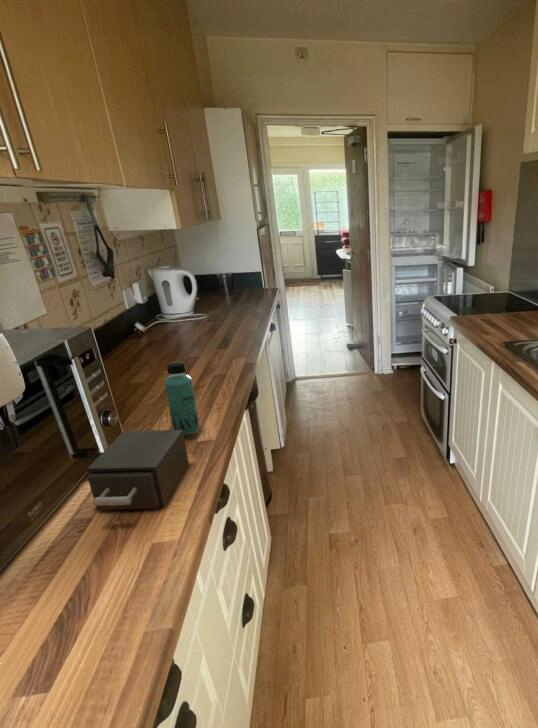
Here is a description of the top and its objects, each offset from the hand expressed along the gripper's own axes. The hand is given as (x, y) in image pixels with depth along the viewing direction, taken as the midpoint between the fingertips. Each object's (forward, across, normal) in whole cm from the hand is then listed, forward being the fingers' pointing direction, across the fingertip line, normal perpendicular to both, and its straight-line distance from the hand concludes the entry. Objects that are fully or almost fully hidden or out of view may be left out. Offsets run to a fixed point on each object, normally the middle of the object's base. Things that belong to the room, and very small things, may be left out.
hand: (7, 448), depth 65 cm
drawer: (+21, -16, +8) cm, 28 cm away
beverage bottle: (+22, -42, +9) cm, 48 cm away
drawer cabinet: (+22, -20, +8) cm, 31 cm away
